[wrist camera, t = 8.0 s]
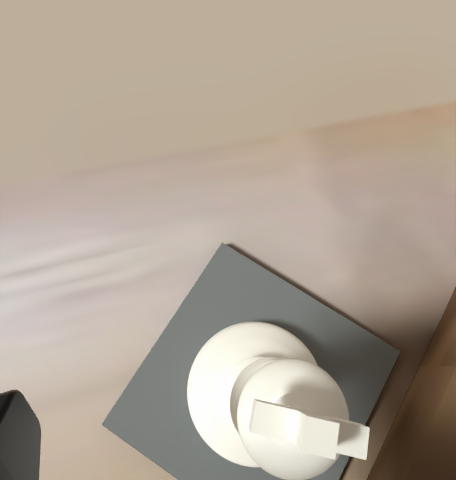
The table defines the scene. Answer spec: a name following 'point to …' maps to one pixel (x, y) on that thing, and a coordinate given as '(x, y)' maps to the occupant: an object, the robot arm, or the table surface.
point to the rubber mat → (210, 323)
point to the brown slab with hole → (426, 415)
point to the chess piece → (270, 403)
